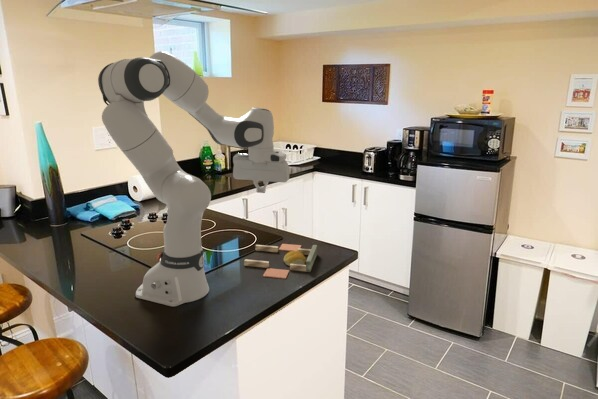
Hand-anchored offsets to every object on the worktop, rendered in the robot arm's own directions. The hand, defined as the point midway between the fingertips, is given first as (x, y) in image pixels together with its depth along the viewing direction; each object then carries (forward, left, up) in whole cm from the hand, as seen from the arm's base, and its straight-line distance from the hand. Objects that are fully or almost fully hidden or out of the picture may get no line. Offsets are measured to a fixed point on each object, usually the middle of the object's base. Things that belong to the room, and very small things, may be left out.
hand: (261, 192), depth 151 cm
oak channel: (+8, 0, -26) cm, 27 cm away
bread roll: (+13, -1, -26) cm, 29 cm away
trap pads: (+8, 0, -26) cm, 27 cm away
